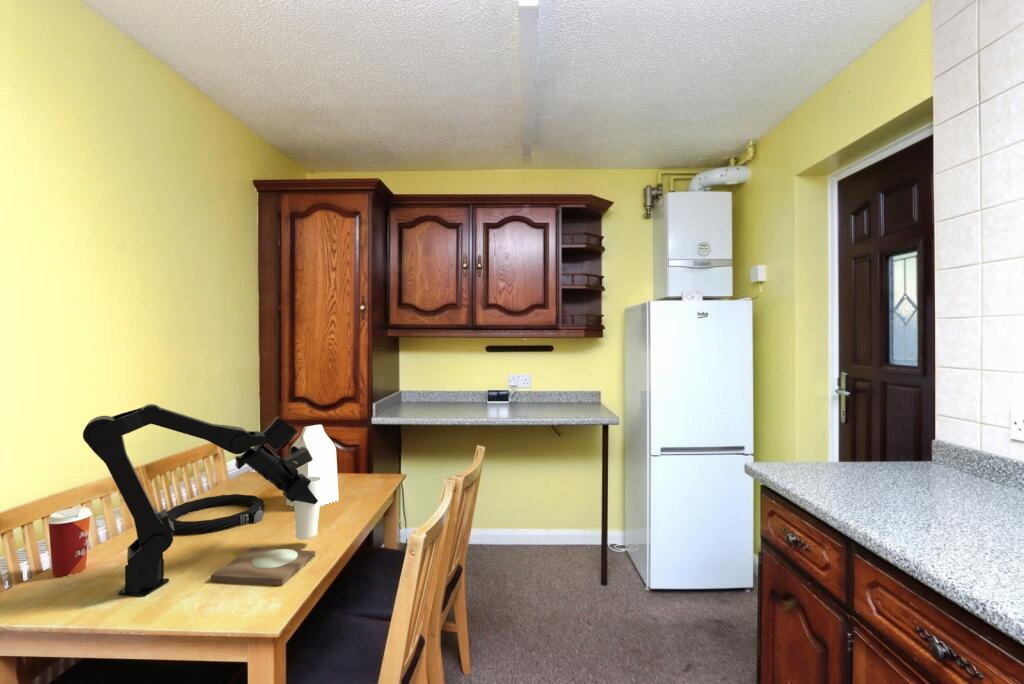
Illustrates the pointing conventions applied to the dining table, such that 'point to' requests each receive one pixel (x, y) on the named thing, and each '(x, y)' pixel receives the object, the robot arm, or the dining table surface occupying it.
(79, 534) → the paper cup
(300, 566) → the walnut board
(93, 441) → the robot arm
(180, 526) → the cable lock
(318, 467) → the milk
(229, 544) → the dining table surface
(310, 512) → the drinking glass
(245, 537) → the dining table surface
